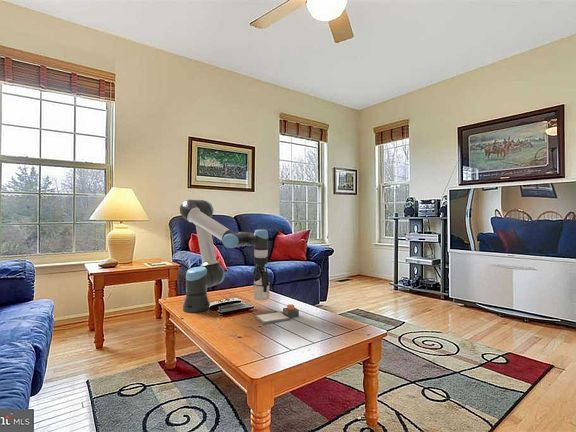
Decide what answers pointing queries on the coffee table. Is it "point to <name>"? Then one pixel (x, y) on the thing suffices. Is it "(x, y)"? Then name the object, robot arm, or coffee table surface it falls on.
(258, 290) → the teacup with lid
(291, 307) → the button
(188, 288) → the robot arm
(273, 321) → the board
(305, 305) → the coffee table surface
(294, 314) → the button housing
